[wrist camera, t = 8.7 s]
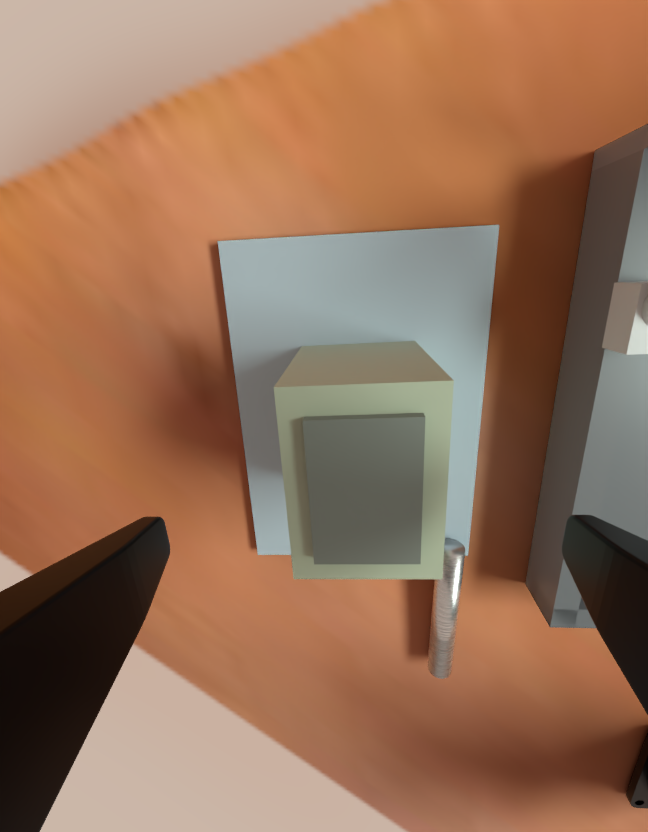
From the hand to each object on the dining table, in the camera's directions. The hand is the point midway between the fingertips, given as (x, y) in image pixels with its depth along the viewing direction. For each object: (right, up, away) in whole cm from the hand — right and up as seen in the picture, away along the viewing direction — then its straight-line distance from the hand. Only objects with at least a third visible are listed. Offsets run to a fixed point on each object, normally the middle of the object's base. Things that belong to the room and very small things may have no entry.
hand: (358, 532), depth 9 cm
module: (+1, +3, +7) cm, 8 cm away
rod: (+5, -7, +11) cm, 14 cm away
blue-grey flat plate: (+1, +3, +8) cm, 8 cm away
